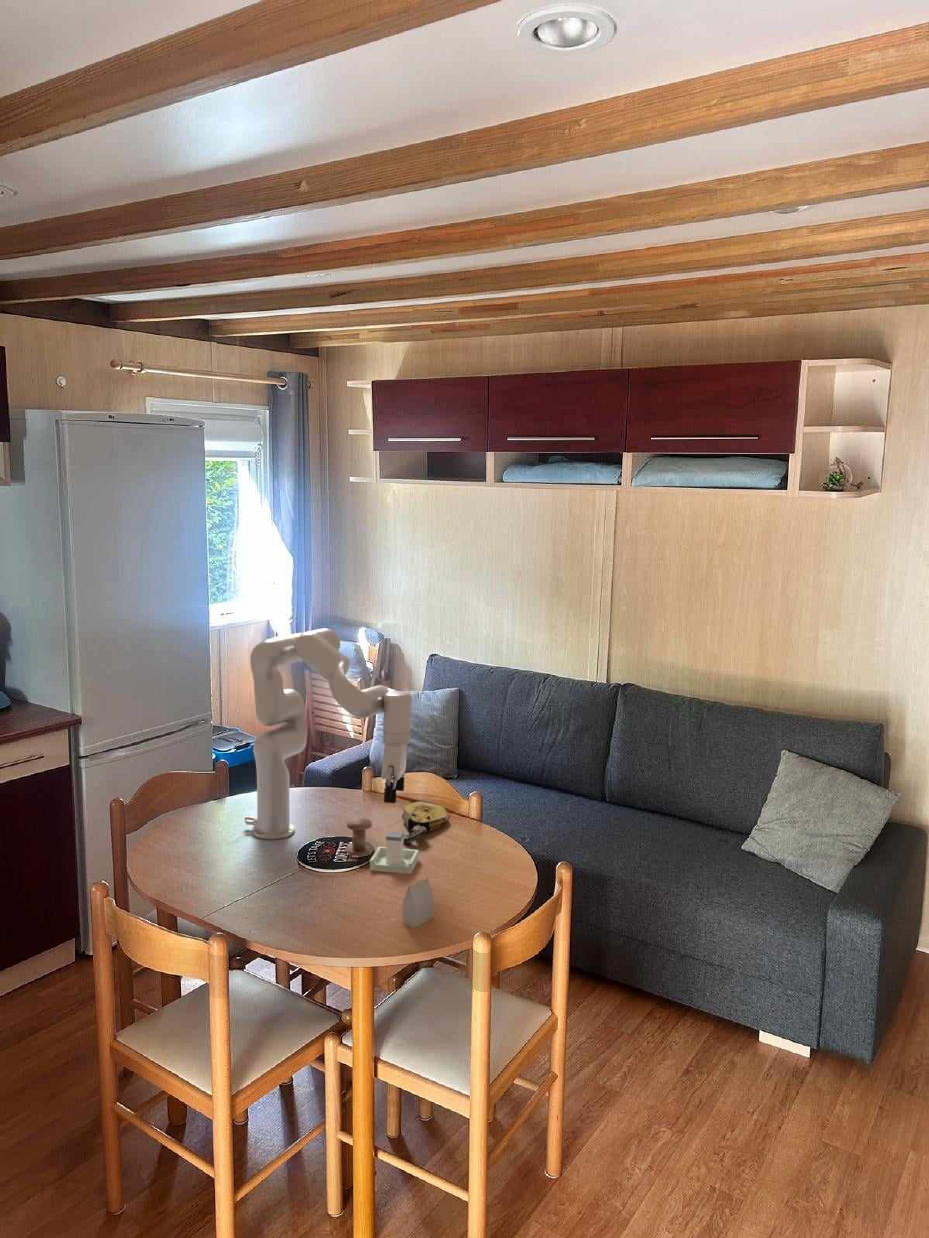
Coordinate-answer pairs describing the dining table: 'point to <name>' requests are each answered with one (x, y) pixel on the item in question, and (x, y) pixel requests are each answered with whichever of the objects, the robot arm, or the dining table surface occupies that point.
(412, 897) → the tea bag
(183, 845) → the dining table surface
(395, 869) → the open tray
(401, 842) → the white grey rectangular block
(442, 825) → the pulley block
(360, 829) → the knob
